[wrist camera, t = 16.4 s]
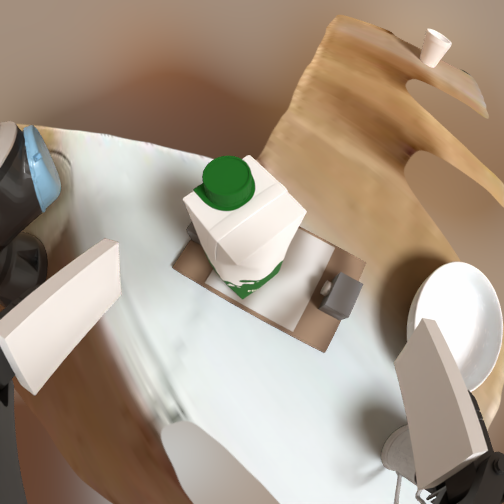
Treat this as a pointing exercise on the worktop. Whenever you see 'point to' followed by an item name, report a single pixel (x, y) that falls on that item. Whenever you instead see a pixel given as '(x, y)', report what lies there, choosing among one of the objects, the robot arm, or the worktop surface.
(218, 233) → the soya milk
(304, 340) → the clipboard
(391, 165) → the worktop surface
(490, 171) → the worktop surface
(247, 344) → the worktop surface
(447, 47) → the foam cup
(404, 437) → the white pitcher
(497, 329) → the serving bowl
